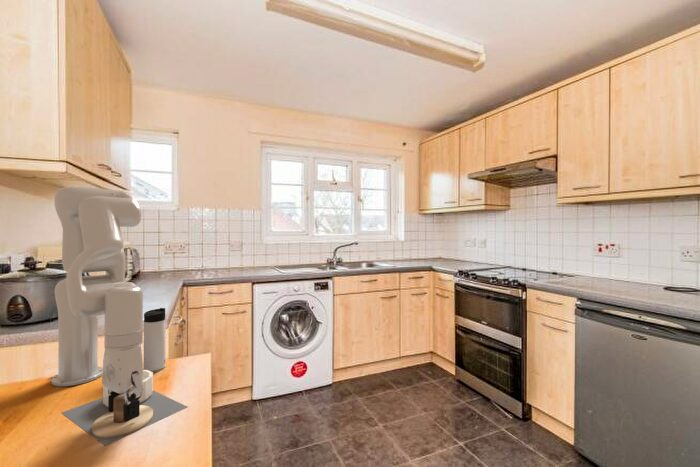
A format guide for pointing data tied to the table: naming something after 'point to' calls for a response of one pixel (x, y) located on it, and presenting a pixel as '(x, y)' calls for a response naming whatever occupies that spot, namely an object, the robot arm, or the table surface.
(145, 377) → the bowl
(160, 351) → the travel mug
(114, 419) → the lid
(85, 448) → the table surface
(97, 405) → the mat
